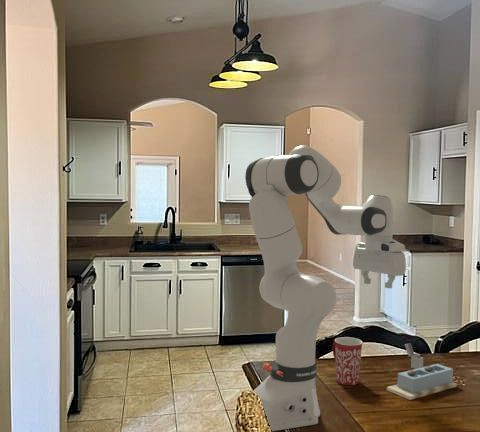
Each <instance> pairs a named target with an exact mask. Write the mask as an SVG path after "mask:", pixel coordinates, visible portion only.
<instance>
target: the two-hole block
mask: <svg viewBox="0 0 480 432" xmlns="http://www.w3.org/2000/svg"><path fill="white" fill-rule="evenodd" d="M429 366H431V367H433V370H432V371H431V372H428V371H427V370H425V369H424V368H425V366H423V367H422V368H418V369H414V368H413V369H412V370H413V371H416V375H414V376H410V374H408V373H407V371H408V370H407V371H402V372H398V373H397V387H399V388H402V389H404V390H407V391H409V392H411V393H415V392H419V391H422V390H426V389H429V388H433V387H436V386H440V385H444V384H447V383H451V382H454V380H453V379H454V368H452V367H449V366H445V365H441V364H439V363H436V364H431V365H429Z"/></svg>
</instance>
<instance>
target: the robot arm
mask: <svg viewBox="0 0 480 432" xmlns="http://www.w3.org/2000/svg"><path fill="white" fill-rule="evenodd" d="M244 175H245V176H244V177H245V185H246V188H247V190H248V191H247V192H248V194H249V195H250V197H251V198H250V200H249V203H248V209H249V216H250V221H251V226H252V229H253V232H254V235H255V239H256V241H257V244H258V247H259V250H260V254H261V256H262V260H263V265H264V266H263V267H264V275H263V277H262V278H261V280H260V281H259V282H260V283H259V285H258V286H259V294H260V297H261V299H262V300H264V302H266V303H267V304H269V305H270V306H272V307H274V308H276V309H278V310H279V309H280V310H283V311H287V319H286V323H285V324H284V326H282V327H280V328H279V329H278V330H277V332H276V334H275V359H274V360H273V363H272V364H269V363H267V362H265V363H263V365H262V369H263V371H266V372H267V373H269V375H268V376H267V377H266V378H265V379H264V380H263V381H262V382H261V383H260V384H259V385H258V386H257V387H255V389H254V390H252V392H255V393H256V394H257V395H258V396H259V398H260V400H261V402H262V405H263V408H264V411H265V414H266V416H267V420H268V423H269V425H270V428H271V430H272V431H271V432H277V431H282V430H288V429H295V428H301V427H307V426H314V425H317V424H319V417H320V416H321V409H320V406H319V401H318V396H317V387H316V384H317V382H316V378H317V375H318V374H317V370H318V369H317V362H316V350H317V349H316V348H317V347H316V346H317V345H316V344H317V335H318V330H319V328H320V325H321V323H322V322H323V320H324V319H325V318H326V317H327V316H328V315H330V314H331V313H332V311H333V310H334V309H335V306H336V303H337V293H336V289H335V287H334V286H333V284H332V283H331V282H329V281H327V280H325V279H323V278H321V277H318V276H316V275H311V274H305V273H302V272H300V271H299V268H298V264H297V263H298V262H297V261H298V260H299V258H300V257H301V255H302V254H303V245H302V242H301V239H300V236H299V232H298V229H297V227H296V224H295V223H296V222H295V220H294V217H293V215H292V212H291V210H290V208H289V206H288V198H289V196H294V195H304V194H305V197H306V198H307V201H308V202H309V203H310V204H311V205H312V207H314V209H315V210H316V211H317V212H318V213H319V215H320V216H321V217H322V218H323V220H324V222H325V224H326V226H327V228H328V229H329V231H330V232H331V233H332V234H334V235H336V236H337V235H352V236H364V242H361V241H360V242H358V243H357V244H356V245H355V250H354V253H353V259H352V260H353V261H352V266H353V268H354V269H355V270H360V271H361V272H360V273H361V275H362V278H363V283H364V285H370V284H371V281H372V279H371V278H370V277H369V274H370V273H369V272H372V273H378V274H383V275H387V278H388V280H387V282H386V281H385V282H384V288H385V289H393V282H394V281H395V279H396V277H401V276H404V275H405V274H406V271H407V269H406V267H407V265H406V264H407V261H406V260H407V259H406V255H405V253H404V252H405V251H406V246H405V244H403V243H401V242H400V241H399V242H398V240H395V239H393V238H394V237H393V236H394V235H393V232H392V227H393V223H394V212H393V203H392V199H391V198H389V196H386V195H380V194H372V195H369V196H367V200H366V201H365V202H364V203H362V204H361V205H357V204H355V205H352V204H350V205H349V204H339V203H336V202H335V200H334V199H333V198H335V196H336V195H337V194H338V192H339V191H340V189H341V187H342V185H341V184H342V175H341V174H340V172H339V170H338V168H336V167H335V165H333V163H332V162H331V161H330V160H328V158H327V157H326V156H324V155H322V153H321V152H319V151H317V150H316V149H314V147H313V148H312V147H311V146H309V145H306V144H305V145H304V144H302V145H299V146H296V147H294V148H293V149H291V150H290V152H289V153H288V154H283V155H281V154H276V155H273V156H272V155H270V156H268V157H263V158H262V157H261V158H258V159H256V160H254V161H251V162H250V163H249V164H248V166H247V167H246V170H245V174H244Z"/></svg>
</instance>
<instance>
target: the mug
mask: <svg viewBox="0 0 480 432" xmlns="http://www.w3.org/2000/svg"><path fill="white" fill-rule="evenodd" d="M363 344H364V343H363V341H362V340H361V339H359V338H357V337H356V338H355V337H350V336H344V337H343V336H342V337H336V338H335V339H334V342H333V343H332V355H333V357H334V363H335V374H336V375H335V378H336V379H335V380H336V382H337V383H339V384H340V385H345V386H355V385H358V384H359V382H360V371H361V361H362V351H363V350H362V348H363Z"/></svg>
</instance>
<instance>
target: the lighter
mask: <svg viewBox="0 0 480 432" xmlns="http://www.w3.org/2000/svg"><path fill="white" fill-rule="evenodd" d="M404 347H405V349H406V352H407V356H408V357H410V359H411V361H410V368H412V369H413V370H414V369H418V368H422V367H424V357H422V356H421V353H417V352H414V350H413V346H412V344H411V343H410V342H409V343H405V344H404Z"/></svg>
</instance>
